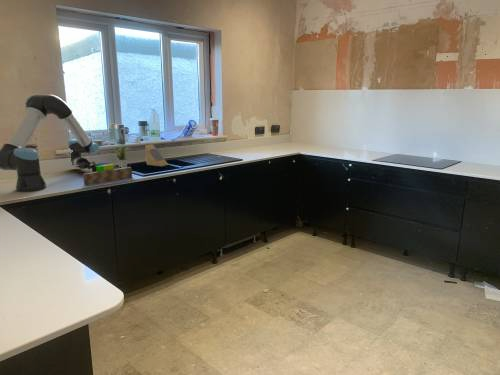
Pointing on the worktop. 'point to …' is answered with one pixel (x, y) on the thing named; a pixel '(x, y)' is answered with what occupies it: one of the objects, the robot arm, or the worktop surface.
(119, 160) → the house plant
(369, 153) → the worktop surface
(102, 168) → the puzzle toy
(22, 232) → the worktop surface
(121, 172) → the walnut board
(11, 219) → the worktop surface
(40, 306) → the worktop surface
